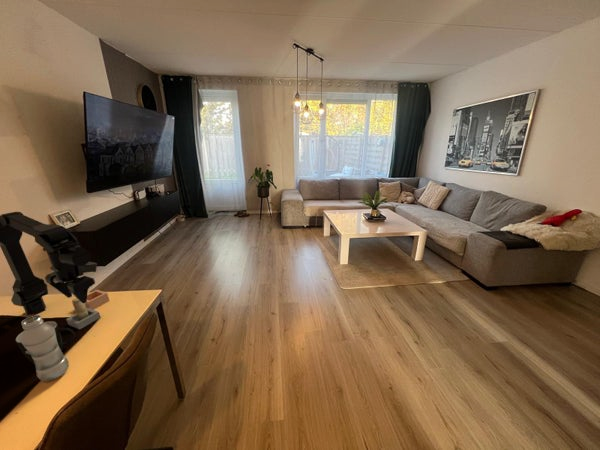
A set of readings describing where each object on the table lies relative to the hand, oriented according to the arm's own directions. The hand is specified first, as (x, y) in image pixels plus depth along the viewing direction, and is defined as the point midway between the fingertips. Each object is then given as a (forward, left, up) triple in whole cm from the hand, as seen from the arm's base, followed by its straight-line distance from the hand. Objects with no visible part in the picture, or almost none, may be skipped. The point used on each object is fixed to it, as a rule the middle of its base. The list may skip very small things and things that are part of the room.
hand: (77, 299), depth 89 cm
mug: (+7, -13, -11) cm, 18 cm away
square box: (-8, +8, -11) cm, 16 cm away
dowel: (0, 0, -10) cm, 10 cm away
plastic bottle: (+17, -17, -11) cm, 26 cm away
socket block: (0, 0, -11) cm, 11 cm away
